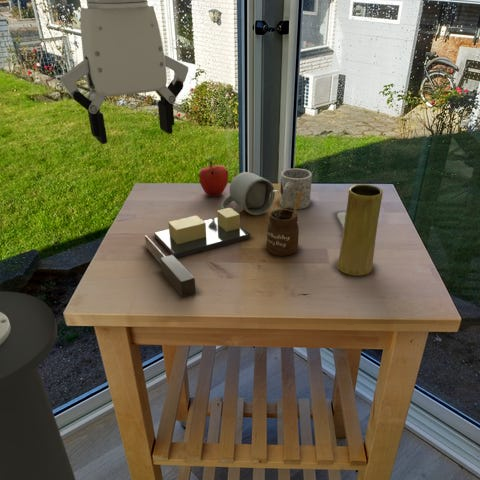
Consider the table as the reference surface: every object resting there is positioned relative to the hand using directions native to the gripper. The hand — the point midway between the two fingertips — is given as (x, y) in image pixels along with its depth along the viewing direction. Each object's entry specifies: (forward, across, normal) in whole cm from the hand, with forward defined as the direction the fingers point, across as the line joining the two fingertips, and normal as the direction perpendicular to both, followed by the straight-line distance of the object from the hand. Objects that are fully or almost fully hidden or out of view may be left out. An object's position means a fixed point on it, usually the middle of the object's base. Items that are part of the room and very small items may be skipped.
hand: (134, 136), depth 71 cm
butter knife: (+24, -39, +5) cm, 46 cm away
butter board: (+24, -14, -10) cm, 30 cm away
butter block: (+23, -11, -10) cm, 28 cm away
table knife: (+24, -3, -2) cm, 24 cm away
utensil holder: (+24, -25, +2) cm, 35 cm away
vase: (+24, -32, +14) cm, 43 cm away
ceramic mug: (+24, -28, -17) cm, 41 cm away
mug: (+24, -38, -14) cm, 47 cm away
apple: (+24, -26, -28) cm, 45 cm away
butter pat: (+23, -20, -10) cm, 32 cm away
